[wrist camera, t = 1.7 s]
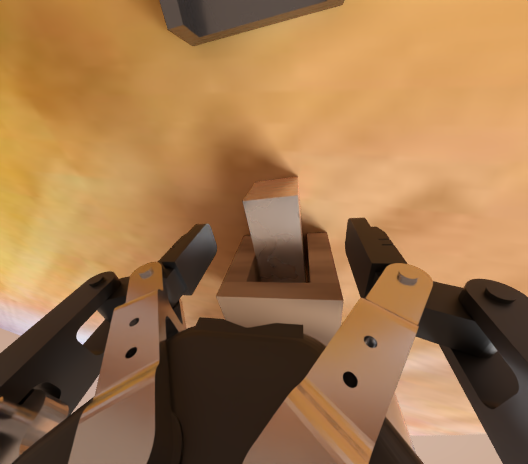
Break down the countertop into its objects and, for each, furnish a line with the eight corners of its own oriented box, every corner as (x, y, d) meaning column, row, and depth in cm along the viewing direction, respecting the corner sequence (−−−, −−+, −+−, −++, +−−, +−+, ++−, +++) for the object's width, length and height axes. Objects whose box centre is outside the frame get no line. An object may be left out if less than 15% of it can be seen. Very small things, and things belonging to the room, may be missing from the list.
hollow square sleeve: (324, 297, 24) (335, 372, 17) (257, 295, 26) (242, 362, 19) (326, 232, 19) (343, 300, 12) (243, 235, 21) (216, 296, 14)
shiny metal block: (305, 267, 22) (306, 301, 18) (272, 267, 23) (266, 301, 19) (297, 175, 17) (297, 195, 13) (255, 181, 18) (242, 201, 14)
